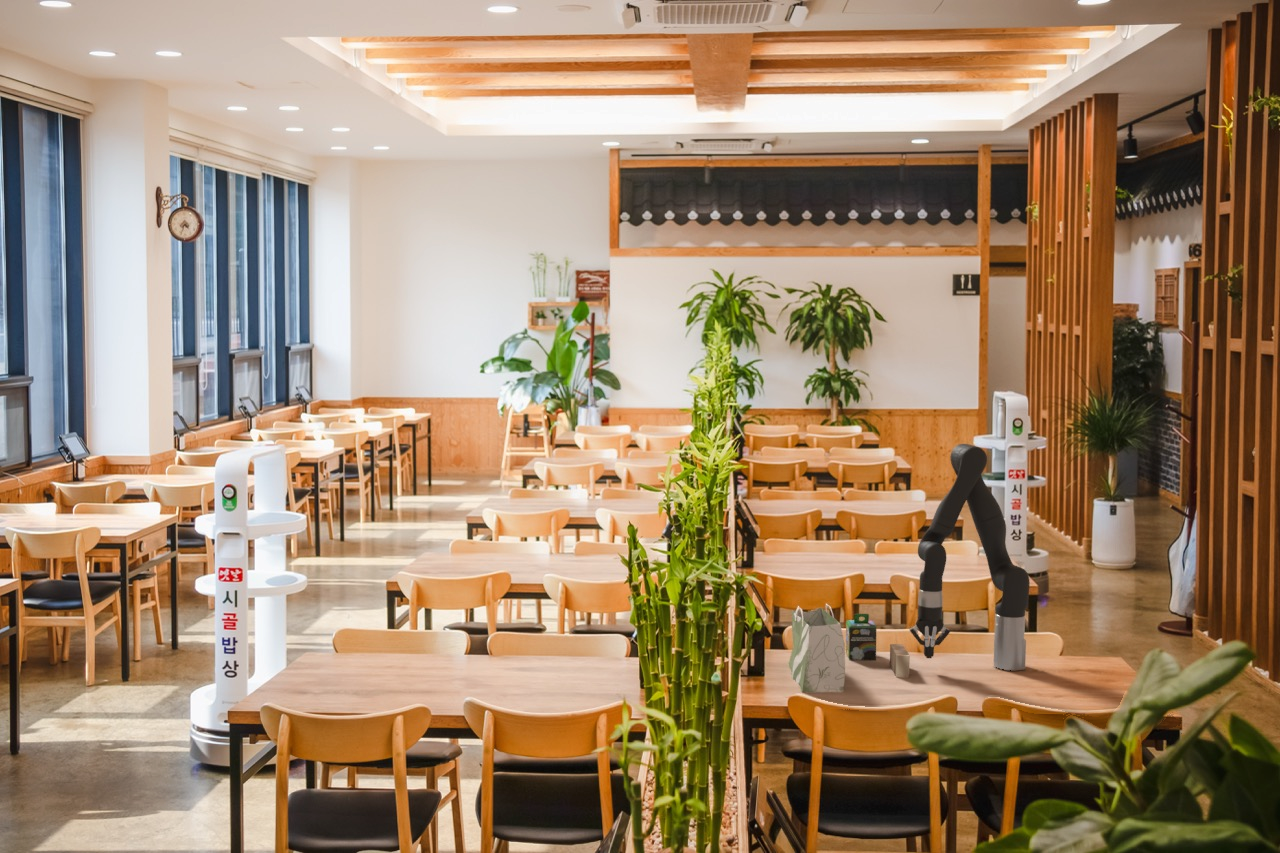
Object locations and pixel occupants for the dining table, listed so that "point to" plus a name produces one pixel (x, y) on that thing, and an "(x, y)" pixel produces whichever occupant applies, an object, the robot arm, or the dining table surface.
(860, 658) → the chalk box
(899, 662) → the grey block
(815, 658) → the grocery bag
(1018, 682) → the dining table surface
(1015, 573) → the robot arm
